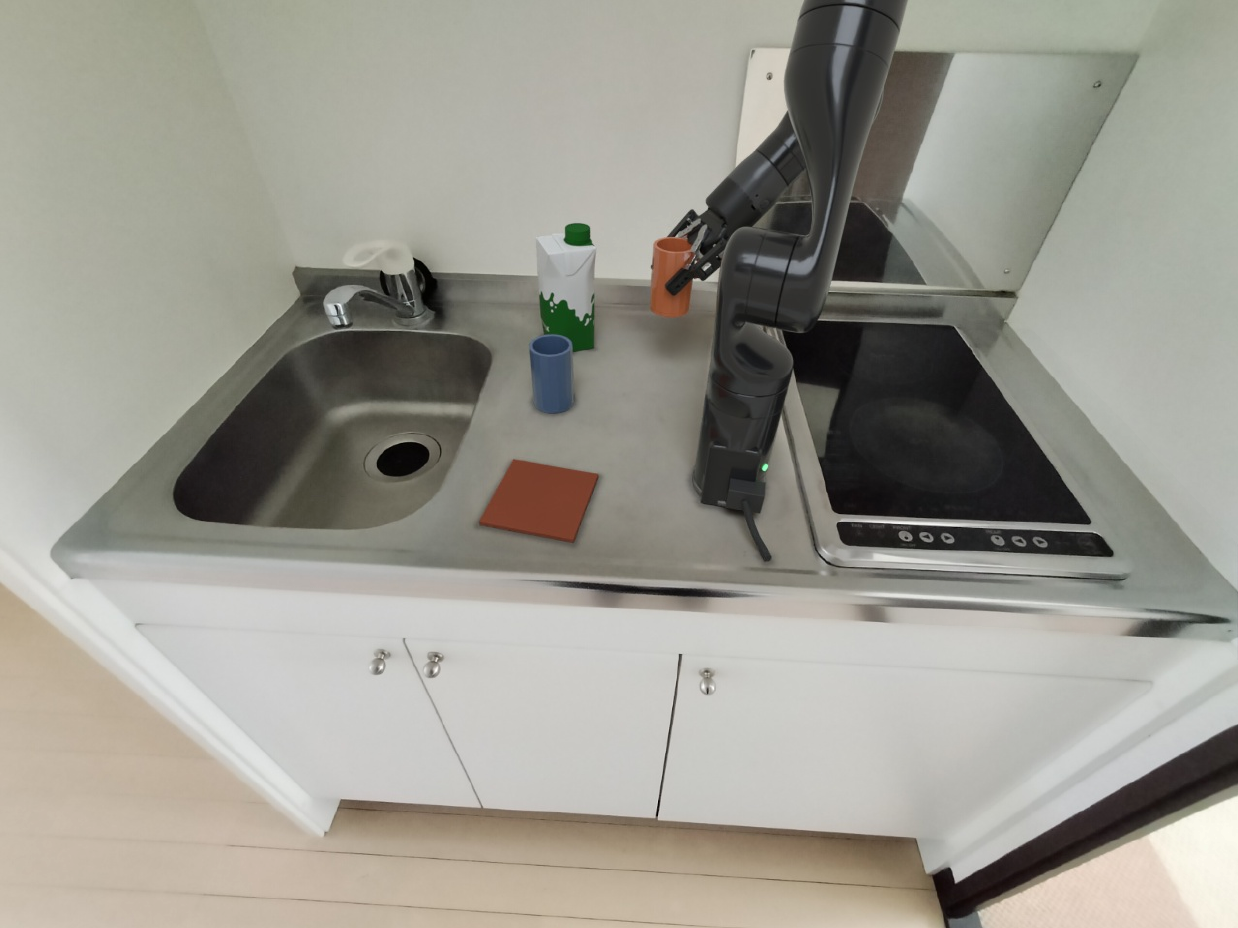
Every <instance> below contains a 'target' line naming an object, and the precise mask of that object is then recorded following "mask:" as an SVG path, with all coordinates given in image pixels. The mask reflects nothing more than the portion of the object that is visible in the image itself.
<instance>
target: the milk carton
mask: <svg viewBox="0 0 1238 928" xmlns="http://www.w3.org/2000/svg"><path fill="white" fill-rule="evenodd" d="M535 248H536V271H537V285H538V300H539V311H540V312H539V313H540V314H539V315H540V322H541V326H542V330H543V335H550V334H555V335H561V336H564V337H566V338H568V339H569V340H570V341H571V342H572V347H573V353H574V352H579V351H580V352H581V351H586V350H591V349H594V348H595V268H596V267H595V266H596V257H597V256H596V255H597V247H595V245H594V243H593V240H592V238H591V226H590V225H589V224H586V223H582V222H573V223H568V224H566V225H565V226H564V232H561V233H550V234H549V235H540V236H535Z"/></svg>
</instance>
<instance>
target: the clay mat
mask: <svg viewBox="0 0 1238 928" xmlns="http://www.w3.org/2000/svg"><path fill="white" fill-rule="evenodd" d="M598 480H599V473H595V472H590V471H585V470H578V469H574V468H573V469H572V468H567V467H560V466H555V465H550V464H545V463H544V464H543V463H538V462H531V461H526V460H520V459H515V458H514V459H512V461H511V463H510V464H509V467H508V468H507V469H506V472H505V474H504V475H503V477H502V478H501V480H500V482H499V484H498V485H497V488H496V489H495V492H494V493H493V495H492V497H491V499H490V501H489V502H488V503H487V506H486V507H485V509H484V511H483V513H482V515H481V517H479V518H480V519H479V520H478V525H480V526H484V527H489V528H494V529H500V530H504V531H505V530H506V531H511V532H516V533H521V534H526V535H532V536H536V537H541V538H545V539H552V540H555V541H556V540H557V541H563V542H567V543H571V544H574V543H575V540H576V537H577V535H578V532H579V529H580V527H581V524H582V522H583V519H584V516H585V514H586V511H587V508H588V506H589V503H590V502H591V501H590V500H591V498H592V495H593V494H594V493H593V492H594V490H595V487H596V485H597V482H598Z"/></svg>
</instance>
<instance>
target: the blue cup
mask: <svg viewBox="0 0 1238 928" xmlns="http://www.w3.org/2000/svg"><path fill="white" fill-rule="evenodd" d="M528 351H529V352H528V353H529V364H530V374H531V386H532V387H531V388H532V396H533V397H532V398H533V406H534V407H535V409H537V410H538V411H539V412H541V413H545V414H561V413H564V412H566V411H568V410H570V409H571V408H572V407H573V406H574V403H575V383H574V381H575V380H574V352H573V347H572V342H571V341H570V340H569V339H568V338H566V337H564V336H561V335H555V334H550V335H544V334H542V335H538V336H536V337H534V338H533V339H531V341H530V342H529V344H528Z"/></svg>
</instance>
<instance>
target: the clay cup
mask: <svg viewBox="0 0 1238 928" xmlns="http://www.w3.org/2000/svg"><path fill="white" fill-rule="evenodd" d="M652 244H653V245H652V257H651V258H652V260H651V265H652V269H651V275H650V292H649V293H650V294H649V310H650V311H651V312H652V313H653V314H655V315H657V316H660V317H663V318H679V317H683V316H685V315H687V314H688V313H689V312H690V307H691V301H692V294H693V293H692V292H693V282H694V278H693V279H692V280H691V281H690V282H689V283H688V284H687V285H686V286H685V287H684V288H683V289H682V290H681V291H680V292H679V293H677V294H676V295H675V296H673V295H671V294H670V293H669V292H668V291H667V290H666V288H665V284H666V283H667V282H668V281H669V280H670V279H671V278H672V277H673V276H674V275H675V274H676V273H677V272H678V271H679V270H680V268H683V269H684V265H685V263H686V262H687V260H688V258H689V257H690V256H691V251H690V249H691V247H692V245H691V244H689V243H688V242H687V239H685V238H678V236H675V237H667V236H666V237H661V238H658V239H656V240H654V242H653V243H652ZM695 263H696V261H695V262H694V264H695Z"/></svg>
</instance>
